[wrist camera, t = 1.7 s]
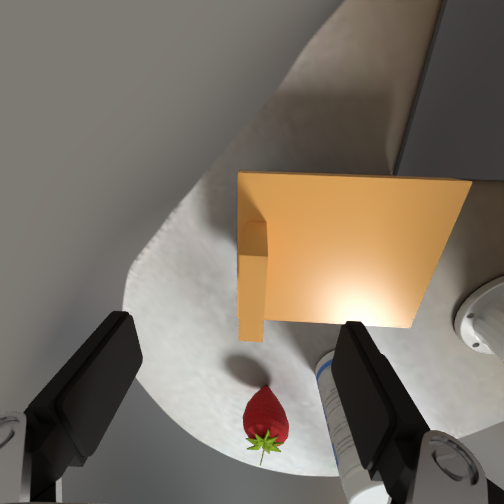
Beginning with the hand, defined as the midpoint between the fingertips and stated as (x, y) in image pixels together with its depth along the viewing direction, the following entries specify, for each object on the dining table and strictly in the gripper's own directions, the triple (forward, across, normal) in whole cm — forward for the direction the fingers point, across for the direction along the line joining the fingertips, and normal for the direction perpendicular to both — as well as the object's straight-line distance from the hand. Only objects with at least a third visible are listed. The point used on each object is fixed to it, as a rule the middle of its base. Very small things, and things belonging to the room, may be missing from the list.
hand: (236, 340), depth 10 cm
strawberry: (+17, -3, +28) cm, 33 cm away
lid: (+10, -7, 0) cm, 12 cm away
